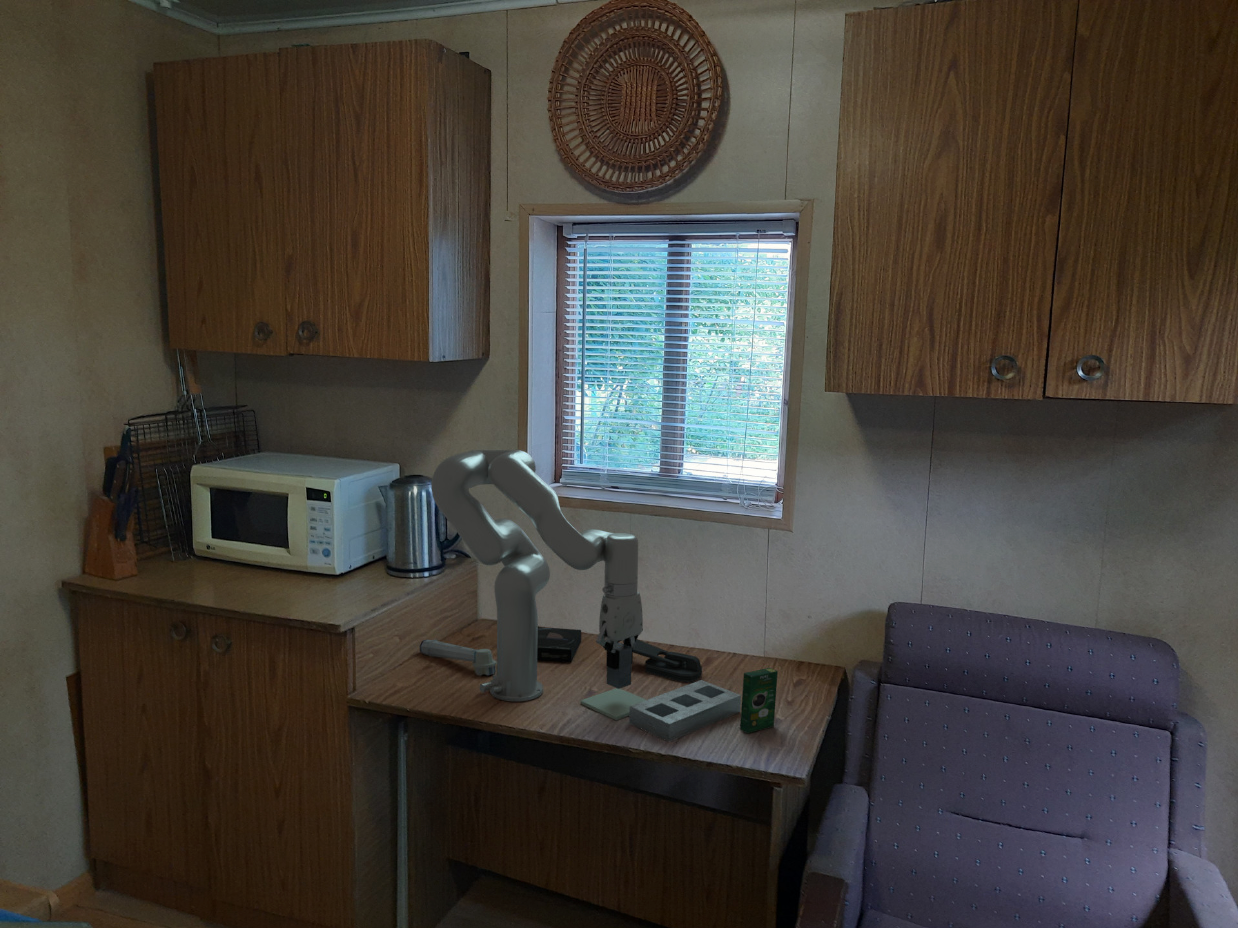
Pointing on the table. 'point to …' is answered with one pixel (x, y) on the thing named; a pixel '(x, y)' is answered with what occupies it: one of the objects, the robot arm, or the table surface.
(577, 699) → the table surface
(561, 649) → the portable cd player
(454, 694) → the table surface
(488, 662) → the grey long angled piece
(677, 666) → the zipper pull
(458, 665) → the table surface
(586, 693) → the table surface
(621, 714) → the mat
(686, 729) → the block with square holes
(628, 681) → the square insert
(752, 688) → the coffee box
